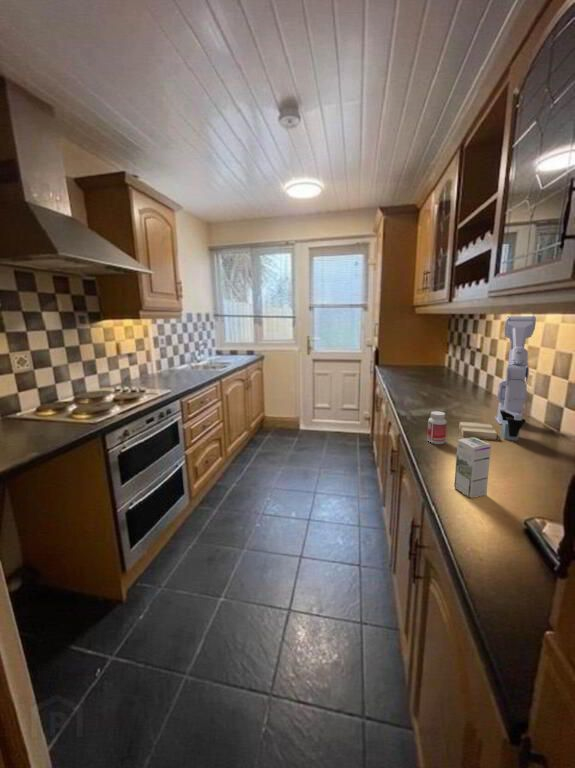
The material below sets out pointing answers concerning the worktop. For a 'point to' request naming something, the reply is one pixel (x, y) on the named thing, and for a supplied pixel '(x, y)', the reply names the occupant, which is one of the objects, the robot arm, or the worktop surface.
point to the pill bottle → (437, 428)
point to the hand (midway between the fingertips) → (510, 432)
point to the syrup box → (472, 466)
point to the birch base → (478, 430)
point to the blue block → (507, 431)
